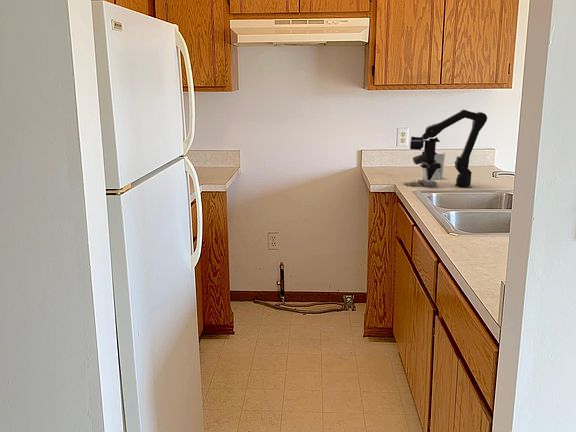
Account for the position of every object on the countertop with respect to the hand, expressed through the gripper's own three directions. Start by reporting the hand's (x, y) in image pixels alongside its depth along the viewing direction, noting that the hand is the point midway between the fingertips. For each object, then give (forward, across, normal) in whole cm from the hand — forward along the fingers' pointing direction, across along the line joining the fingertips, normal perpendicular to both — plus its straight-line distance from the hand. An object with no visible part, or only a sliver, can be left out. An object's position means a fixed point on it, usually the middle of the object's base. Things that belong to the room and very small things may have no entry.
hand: (427, 179), depth 299 cm
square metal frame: (+3, 0, 0) cm, 3 cm away
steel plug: (+3, 0, 0) cm, 3 cm away
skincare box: (+3, -18, +12) cm, 22 cm away
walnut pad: (+3, 0, -8) cm, 9 cm away
